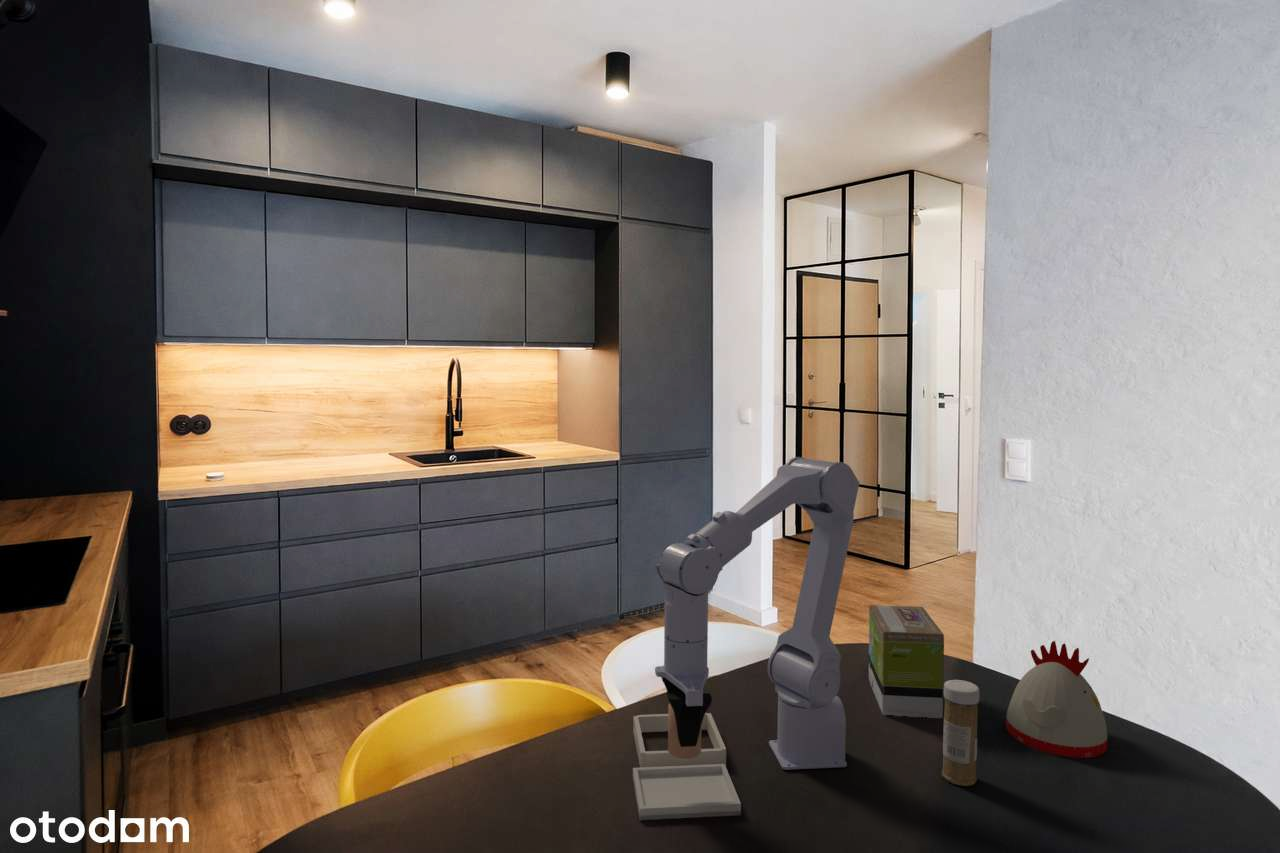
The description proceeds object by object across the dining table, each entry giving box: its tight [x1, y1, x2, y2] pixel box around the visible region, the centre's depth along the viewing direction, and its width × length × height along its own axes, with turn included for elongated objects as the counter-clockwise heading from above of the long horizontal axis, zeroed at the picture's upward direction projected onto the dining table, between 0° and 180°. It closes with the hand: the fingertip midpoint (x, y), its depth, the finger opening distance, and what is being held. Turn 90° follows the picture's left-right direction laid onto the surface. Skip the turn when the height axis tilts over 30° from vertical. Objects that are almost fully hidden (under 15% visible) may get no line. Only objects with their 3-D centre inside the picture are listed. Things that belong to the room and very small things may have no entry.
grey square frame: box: [632, 712, 727, 768], centre depth 112 cm, size 12×12×2 cm
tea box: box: [868, 604, 945, 719], centre depth 130 cm, size 15×10×15 cm
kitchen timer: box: [1005, 640, 1108, 759], centre depth 117 cm, size 14×14×15 cm
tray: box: [632, 764, 742, 821], centre depth 99 cm, size 13×10×2 cm
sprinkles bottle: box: [941, 679, 980, 787], centre depth 104 cm, size 5×5×14 cm
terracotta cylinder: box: [667, 702, 702, 759], centre depth 99 cm, size 4×4×6 cm
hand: (684, 736), depth 99 cm, fingers closed on terracotta cylinder, 4 cm apart
